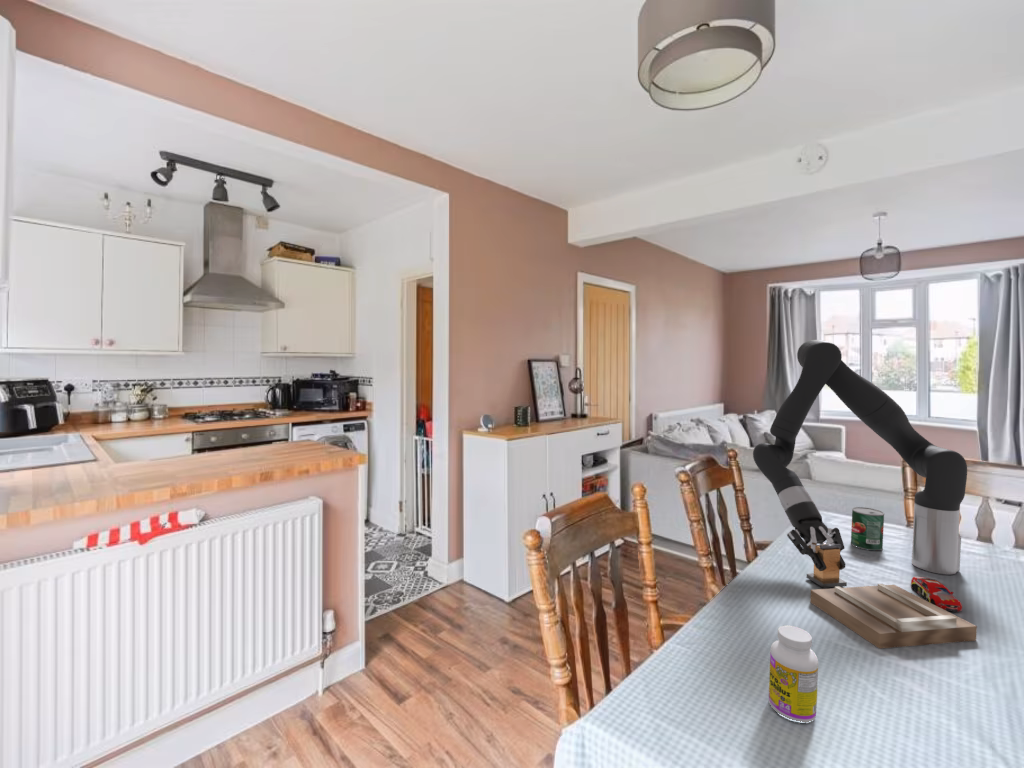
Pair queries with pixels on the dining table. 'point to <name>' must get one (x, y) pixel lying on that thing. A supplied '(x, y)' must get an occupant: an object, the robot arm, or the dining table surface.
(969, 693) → the dining table surface
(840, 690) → the dining table surface
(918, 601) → the dock
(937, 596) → the race car
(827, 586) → the block with metal roller
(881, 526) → the canned tomato
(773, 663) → the supplement bottle
